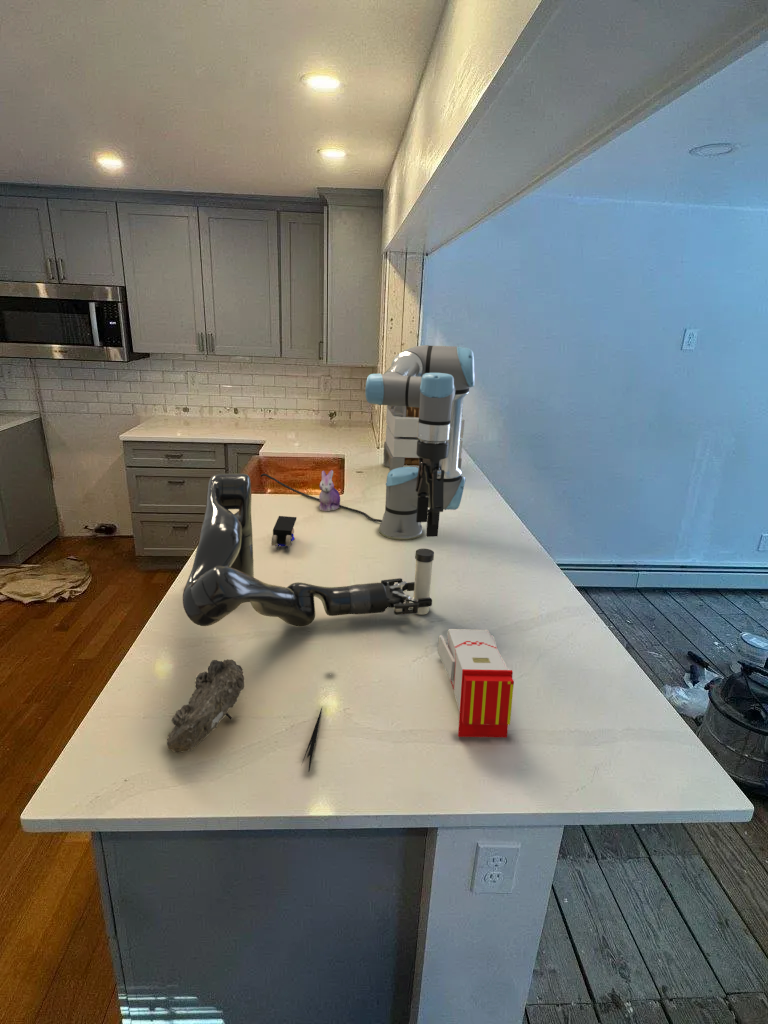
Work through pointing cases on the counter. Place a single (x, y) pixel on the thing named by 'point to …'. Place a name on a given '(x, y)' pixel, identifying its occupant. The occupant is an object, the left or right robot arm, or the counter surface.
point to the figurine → (328, 493)
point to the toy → (478, 682)
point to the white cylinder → (422, 583)
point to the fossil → (206, 705)
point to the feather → (313, 740)
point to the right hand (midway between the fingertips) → (426, 528)
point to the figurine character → (283, 531)
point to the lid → (424, 555)
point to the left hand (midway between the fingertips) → (425, 593)
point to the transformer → (405, 437)
